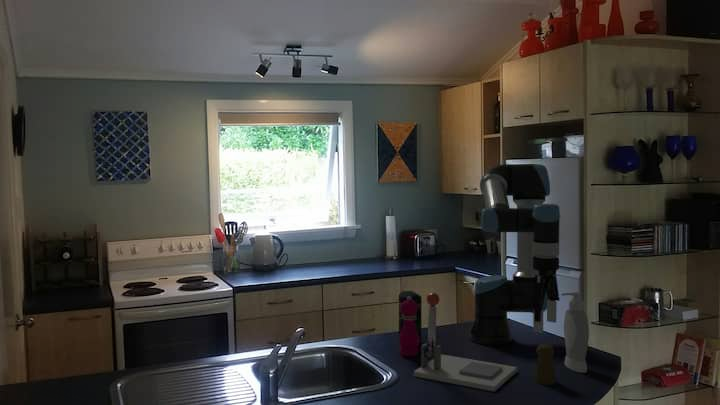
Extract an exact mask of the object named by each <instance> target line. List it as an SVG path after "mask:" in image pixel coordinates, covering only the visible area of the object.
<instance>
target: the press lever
mask: <svg viewBox="0 0 720 405" xmlns="http://www.w3.org/2000/svg"><path fill="white" fill-rule="evenodd" d="M426 302H427V304H428V305H429V307H428V317H427V319H428V321H427V322H428V323H427V349H426V350H425V357H426V358H428V359H431V360H433V359H434V347H436V335H437V334H436V331H437V307H436V306H438V304H439V302H440V296H439V295H438V294H437V293H435V292H430V293H429V294H427V296H426Z"/></svg>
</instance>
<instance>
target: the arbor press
mask: <svg viewBox="0 0 720 405" xmlns="http://www.w3.org/2000/svg"><path fill="white" fill-rule="evenodd" d="M427 344H428V342H427V343H426V342H425V343H424V344H423V343H422V344H421V345H420V346H421V347H420V367H418V368H417V369H415V370H414V371H413V376H414V377H416V378H421V379H427V380H432V381H437V382H442V383H448V384H453V385H458V386H464V387H469V388H472V389H473V388H474V389H478V390H484V391H489V392H496V391H497V390H498V389H499V388H500V387H502V386H503V384H505V383H506V382H507V381H508V380H510V378H512V377H513V376H514V375H515V374H516V373H517V372H518V369H517V368H518V367H517V366H512V365H506V364H500V363H495V362H489V361H483V360H476V359H472V358H471V359H470V358H465V357H459V356H453V355H448V354H447V355H446V354H442V345H435V347H434V359H431V360H429V358H426V357H425V350H426V349H427Z"/></svg>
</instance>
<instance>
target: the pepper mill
mask: <svg viewBox="0 0 720 405" xmlns="http://www.w3.org/2000/svg"><path fill="white" fill-rule="evenodd" d="M400 309H401V312H402V313H403V314H402V319H403V329H402V332H401V334H400V337H399V336H398V343H399V345H400V346H401V347H400V349H399V350H400V351H399V352H400V354H401V355H402V356H406V357H411V356H412V357H413V356H417V355H419V345H420V344H421V343H420V338H419V335H418V332H417V330H416V327H415V319H416V316H417V315H416V312H417V311H418V305H417V303H416V302H414V301H412V297H411V296H408V297H407V301H404V302H403V303H402V304H401V308H400ZM419 343H420V344H419Z"/></svg>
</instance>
